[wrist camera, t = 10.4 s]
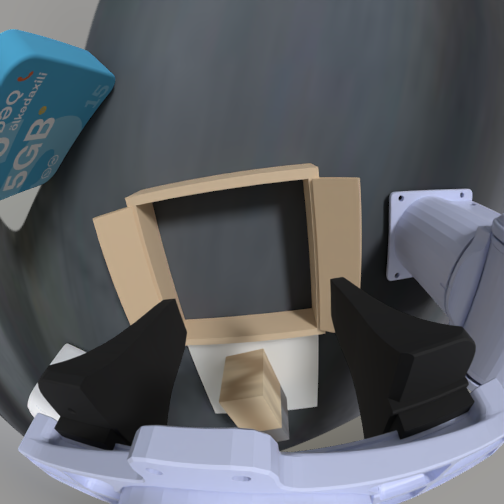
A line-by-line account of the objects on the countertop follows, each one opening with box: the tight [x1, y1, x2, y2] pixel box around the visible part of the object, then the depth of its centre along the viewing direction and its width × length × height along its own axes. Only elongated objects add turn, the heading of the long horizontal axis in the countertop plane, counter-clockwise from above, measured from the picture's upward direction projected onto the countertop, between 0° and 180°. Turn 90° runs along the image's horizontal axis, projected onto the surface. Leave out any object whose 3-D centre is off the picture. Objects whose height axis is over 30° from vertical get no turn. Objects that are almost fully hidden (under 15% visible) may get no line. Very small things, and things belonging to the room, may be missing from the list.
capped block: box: [219, 349, 289, 442], centre depth 25 cm, size 4×9×6 cm, turn 19°
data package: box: [0, 29, 115, 200], centre depth 13 cm, size 12×4×12 cm, turn 132°
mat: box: [188, 335, 318, 413], centre depth 28 cm, size 13×13×1 cm
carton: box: [93, 163, 362, 345], centre depth 21 cm, size 18×13×5 cm
